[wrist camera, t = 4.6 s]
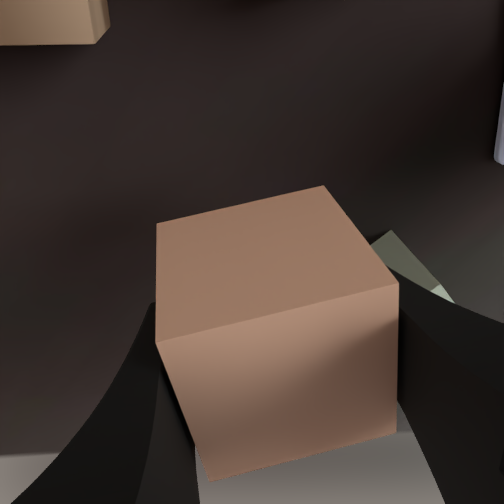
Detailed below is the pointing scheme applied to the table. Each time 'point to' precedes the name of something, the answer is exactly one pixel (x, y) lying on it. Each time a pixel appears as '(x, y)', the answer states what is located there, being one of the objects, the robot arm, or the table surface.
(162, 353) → the terracotta cube
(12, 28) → the tan cube
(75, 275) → the table surface
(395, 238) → the sage painted cube
